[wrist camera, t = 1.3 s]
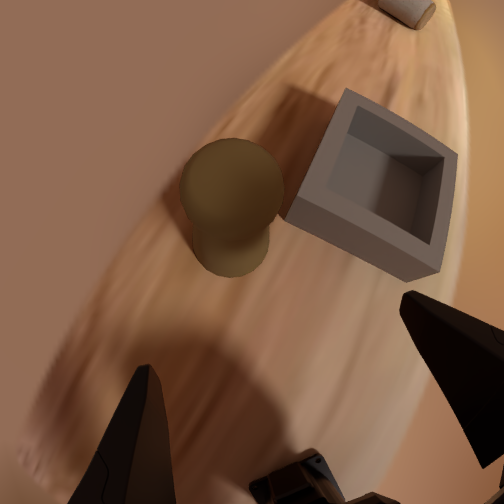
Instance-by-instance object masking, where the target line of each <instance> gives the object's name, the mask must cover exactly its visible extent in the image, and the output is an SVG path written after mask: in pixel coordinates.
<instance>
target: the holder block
mask: <svg viewBox="0 0 504 504" xmlns="http://www.w3.org/2000/svg"><path fill="white" fill-rule="evenodd" d="M457 159H458V154H457V153H455V152H454V151H453V150H451V149H450V148H448V147H447V146H445V145H444V144H443V143H441V142H440V141H438V140H437V139H435V138H434V137H432V136H431V135H429V134H428V133H426V132H425V131H423V130H421V129H420V128H418V127H417V126H415V125H413V124H412V123H410V122H409V121H407V120H405V119H404V118H402V117H400V116H398V115H397V114H395V113H393V112H392V111H390V110H388V109H386V108H384V107H383V106H381V105H379V104H377V103H375V102H373V101H371V100H370V99H368V98H366V97H364V96H362V95H360V94H358V93H356V92H354V91H352V90H350V89H348V88H345V90H344V92H343V95H342V97H341V99H340V101H339V103H338V105H337V107H336V109H335V112H334V114H333V116H332V118H331V120H330V122H329V124H328V127H327V129H326V131H325V133H324V135H323V138H322V140H321V142H320V144H319V146H318V149H317V151H316V153H315V155H314V157H313V159H312V162H311V164H310V166H309V168H308V170H307V172H306V175H305V177H304V179H303V181H302V183H301V185H300V188H299V190H298V192H297V194H296V196H295V198H294V200H293V203H292V205H291V207H290V209H289V211H288V213H287V215H286V218H285V220H284V221H286V222H288V223H290V224H292V225H294V226H296V227H298V228H300V229H303V230H305V231H307V232H309V233H311V234H313V235H315V236H317V237H319V238H321V239H323V240H325V241H327V242H329V243H331V244H333V245H335V246H337V247H339V248H341V249H343V250H345V251H347V252H349V253H351V254H353V255H355V256H356V257H358V258H360V259H362V260H364V261H366V262H368V263H370V264H372V265H374V266H376V267H378V268H380V269H382V270H383V271H385V272H387V273H389V274H391V275H393V276H395V277H397V278H398V279H400V280H402V281H404V282H406V283H407V282H410V281H413V280H417V279H420V278H423V277H426V276H429V275H433V274H436V273H439V272H440V269H441V265H442V260H443V256H444V251H445V246H446V241H447V236H448V230H449V224H450V218H451V212H452V205H453V198H454V190H455V181H456V171H457Z"/></svg>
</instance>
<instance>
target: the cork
mask: <svg viewBox="0 0 504 504" xmlns="http://www.w3.org/2000/svg"><path fill="white" fill-rule="evenodd" d="M284 190H285V187H284V182H283V177H282V172H281V169H280V167H279V165H278V164H277V162H276V160H275V159H274V157H273V156H272V155H271V154H269V153H268V152H267V151H266V150H265V149H264V148H263V147H261V146H259V145H257V144H255V143H253V142H251V141H249V140H244V139H238V138H228V139H220V140H217V141H214V142H212V143H209V144H207V145H205V146H204V147H202V148H201V149H200V150H198V151H197V152H196V153H194V154H193V155H192V157H191V158H190V159H189V161H188V162H187V164H186V165H185V167H184V170H183V173H182V177H181V180H180V200H181V203H182V205H183V207H184V210H185V212H186V214H187V216H188V218H189V219H190V220H191V222H192V223H193V233H192V241H193V250H194V252H195V255H196V257H197V259H198V261H199V262H200V263H201V264H202V265H203V266H204V267H205V268H206V270H208V271H210V272H212V273H214V274H215V275H217V276H223V277H228V278H232V277H240V276H243V275H246V274H248V273H250V272H252V271H254V270H255V269H256V268H257V267H258V266H259V265H260V264H261V263H262V261H263V260H264V258H265V256H266V254H267V252H268V246H269V224H270V223H271V222H273V220H274V219H275V217H276V215H277V213H278V211H279V209H280V208H281V205H282V203H283V197H284Z"/></svg>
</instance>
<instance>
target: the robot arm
mask: <svg viewBox="0 0 504 504" xmlns="http://www.w3.org/2000/svg"><path fill="white" fill-rule="evenodd" d="M399 312H400V316H401V318H402V320H403V322H404V324H405V326H406V328H407V330H408V332H409V334H410V336H411V338H412V340H413V342H414V344H415V346H416V348H417V350H418V351H419V353H420V355H421V356H422V358H423V359H424V361H425V363H426V364H427V366H428V368H429V369H430V371H431V373H432V375H433V376H434V378H435V380H436V381H437V383H438V385H439V387H440V388H441V390H442V392H443V394H444V395H445V397H446V399H447V401H448V403H449V404H450V406H451V408H452V410H453V411H454V413H455V415H456V417H457V419H458V421H459V423H460V425H461V427H462V429H463V431H464V433H465V435H466V437H467V439H468V440H469V443H470V445H471V446H472V449H473V451H474V453H475V455H476V457H477V459H478V461H479V463H480V465H481V467H482V469H484V468H485V467H487V466H488V465H490V464H491V463H492V462H494V461H495V460H497V459H498V458H499V457H501V456H502V455H503V454H504V331H503V330H501V329H498V328H496V327H494V326H492V325H489V324H488V323H485V322H483V321H481V320H479V319H477V318H475V317H472V316H470V315H468V314H466V313H464V312H461V311H459V310H457V309H455V308H453V307H450V306H448V305H446V304H444V303H441V302H439V301H437V300H435V299H432V298H430V297H428V296H426V295H423V294H421V293H419V292H417V291H414V290H411V291H408V292H406V293H404V294H403V296H402V300H401V304H400V309H399ZM97 450H98V451H96V452H95V454H94V456H93V458H92V461H91V463H90V465H89V467H88V469H87V471H86V472H85V474H84V476H83V478H82V480H81V481H80V483H79V485H78V486H77V488H76V490H75V491H74V493H73V495H72V496H71V498H70V500H69V501H68V503H67V504H176V498H175V491H174V483H173V474H172V465H171V455H170V444H169V431H168V422H167V416H166V411H165V406H164V400H163V394H162V388H161V383H160V380H159V378H158V376H157V374H156V373H155V371H154V369H153V368H152V366H151V365H150V364H146V365H140V366H138V367H137V369H136V371H135V373H134V375H133V377H132V379H131V381H130V382H129V384H128V386H127V388H126V390H125V392H124V394H123V396H122V398H121V400H120V402H119V404H118V406H117V408H116V410H115V412H114V414H113V417H112V419H111V421H110V423H109V425H108V427H107V429H106V431H105V433H104V435H103V437H102V439H101V442H100V444H99V446H98V448H97ZM317 458H320V460H319V461H315V460H316V459H317ZM253 486H258V487H257V488H252V487H253ZM499 487H500V490H499V491H498V492H497V493H496V494H495V495H494V496H492V497H491V498H490V499H489V500H488V501H487V502H485V503H484V504H504V466H503V471H502V476H501V481H500V486H499ZM249 490H250V492H251V493H252V495H253V496H254V498H255V499H256V501H257V502H258V504H400V503H399V502H397V501H396V500H393V499H390V498H388V497H385V496H382V495H380V494H377V493H374V492H370V493H368V494H365V495H364V496H361V497H359V498H356V499H353V500H351V501H348V502H345V498H344V496H343V494H342V492H341V490H340V488H339V486H338V485H337V483H336V481H335V479H334V477H333V475H332V473H331V471H330V469H329V467H328V465H327V463H326V461H325V459H324V457H323V456H322V455H321V454H315V455H313V456H311V457H309V458H307V459H305V460H302V461H300V462H295V463H293V464H290V465H288V466H286V467H284V468H281V469H279V470H277V471H274V472H272V473H270V474H269V475H268V476H266V477H263V478H261V479H258V480H256V481H253V482H251V483H250V484H249Z"/></svg>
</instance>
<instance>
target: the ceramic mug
mask: <svg viewBox="0 0 504 504" xmlns="http://www.w3.org/2000/svg"><path fill="white" fill-rule="evenodd" d="M378 6H379V7H380V8H381V9H383V10H385V11H386V12H388V13H389V14H391V15H392V16H394V17H396V18H397V19H399V20H400V21H402V22H403V23H405V24H406V25H408V26H409V27H411V28H413V29H415V30H420V29H422V28H423V27H424V26H425V25H426V24H427V22H428V21H429V20H430V18H431V17H432V16H433V14H434V12H435V10H436V5H435V4H434V3H433V1H431V0H378Z"/></svg>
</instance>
